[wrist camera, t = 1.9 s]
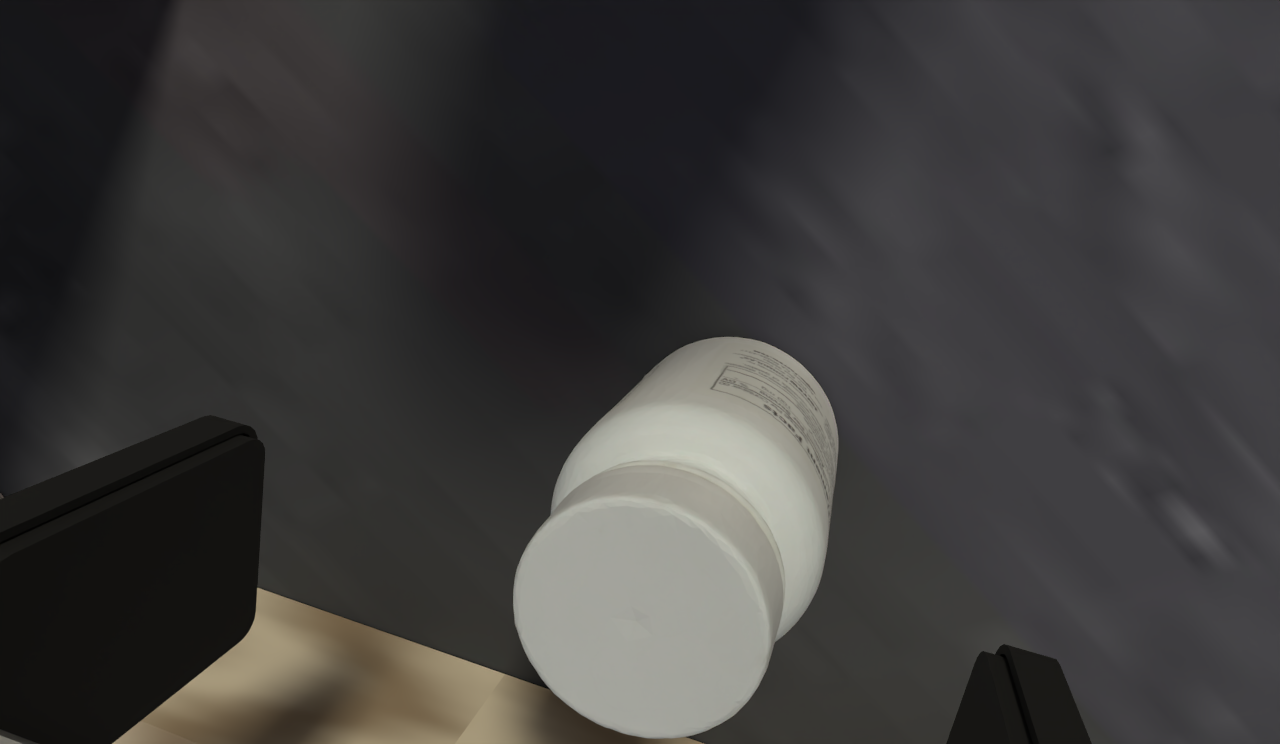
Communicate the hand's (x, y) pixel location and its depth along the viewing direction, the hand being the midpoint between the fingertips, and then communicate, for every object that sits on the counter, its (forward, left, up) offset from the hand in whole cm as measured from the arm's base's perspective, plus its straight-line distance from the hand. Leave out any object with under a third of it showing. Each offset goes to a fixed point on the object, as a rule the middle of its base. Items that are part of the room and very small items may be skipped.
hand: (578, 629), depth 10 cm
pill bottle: (0, -1, -8) cm, 8 cm away
